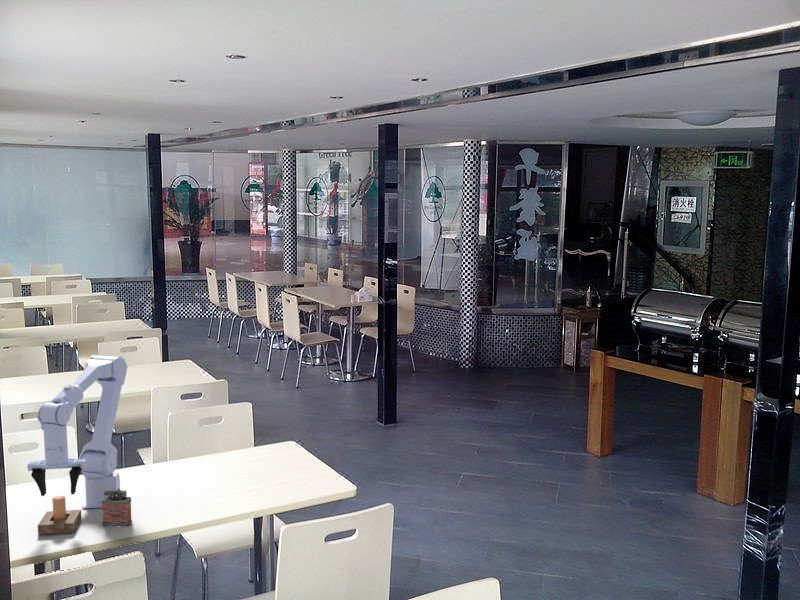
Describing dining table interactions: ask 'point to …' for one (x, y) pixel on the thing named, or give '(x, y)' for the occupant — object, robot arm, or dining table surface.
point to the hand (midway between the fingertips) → (58, 493)
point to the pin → (59, 508)
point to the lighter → (116, 508)
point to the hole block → (59, 523)
